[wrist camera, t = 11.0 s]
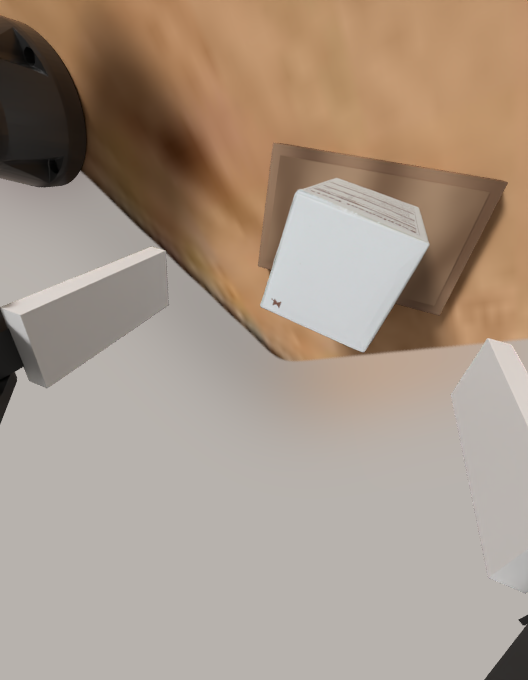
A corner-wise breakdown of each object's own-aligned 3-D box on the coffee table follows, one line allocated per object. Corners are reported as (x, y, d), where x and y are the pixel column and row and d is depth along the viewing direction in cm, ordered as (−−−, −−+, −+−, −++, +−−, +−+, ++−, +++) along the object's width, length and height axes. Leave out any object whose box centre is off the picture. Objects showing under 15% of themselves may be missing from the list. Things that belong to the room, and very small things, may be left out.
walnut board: (264, 260, 34) (257, 266, 32) (280, 143, 28) (272, 142, 26) (437, 306, 30) (439, 316, 28) (501, 180, 24) (508, 182, 22)
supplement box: (377, 286, 29) (362, 359, 19) (305, 255, 30) (254, 308, 20) (423, 206, 25) (435, 244, 15) (336, 172, 26) (292, 187, 16)
